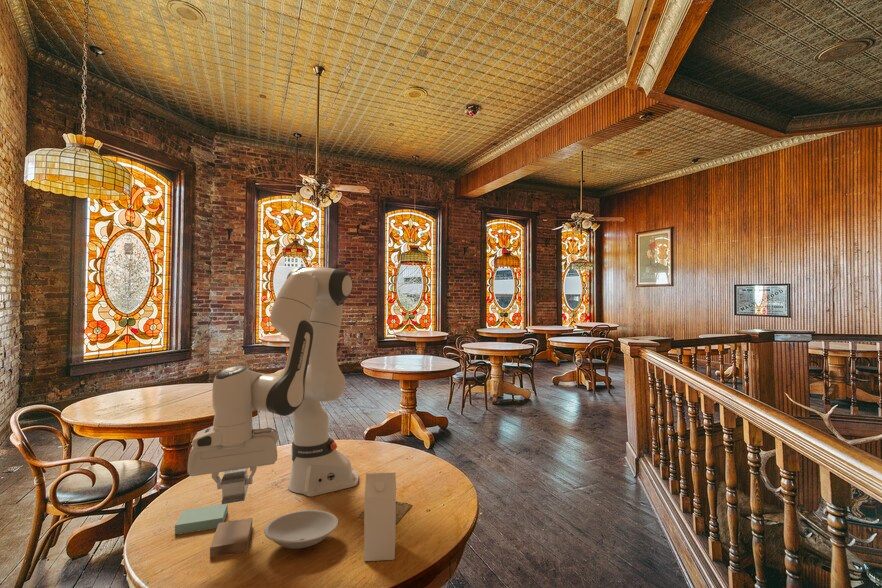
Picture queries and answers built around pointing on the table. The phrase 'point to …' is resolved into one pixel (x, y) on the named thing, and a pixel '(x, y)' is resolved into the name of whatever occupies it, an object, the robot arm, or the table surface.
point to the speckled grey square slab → (400, 511)
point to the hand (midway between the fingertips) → (235, 485)
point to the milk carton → (379, 516)
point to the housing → (234, 486)
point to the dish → (301, 528)
